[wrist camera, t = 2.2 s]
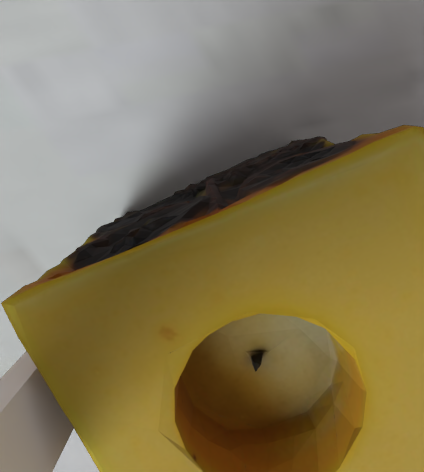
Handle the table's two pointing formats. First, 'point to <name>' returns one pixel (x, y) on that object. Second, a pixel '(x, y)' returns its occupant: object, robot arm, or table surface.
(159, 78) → the table surface
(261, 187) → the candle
